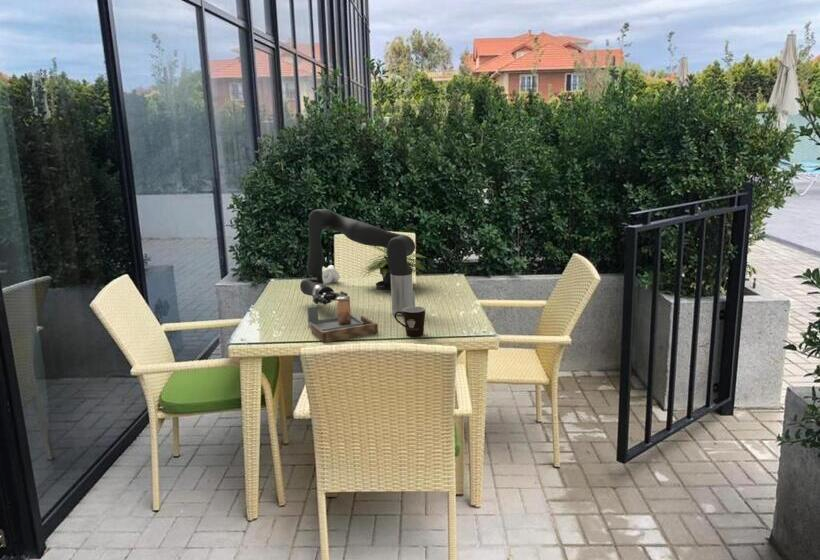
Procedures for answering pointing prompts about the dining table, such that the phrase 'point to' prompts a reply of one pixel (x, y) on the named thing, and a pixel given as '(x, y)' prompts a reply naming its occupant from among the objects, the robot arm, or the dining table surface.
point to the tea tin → (343, 310)
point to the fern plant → (385, 270)
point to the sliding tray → (328, 320)
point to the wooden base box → (345, 331)
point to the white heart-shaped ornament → (330, 274)
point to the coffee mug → (413, 321)
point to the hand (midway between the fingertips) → (335, 301)
